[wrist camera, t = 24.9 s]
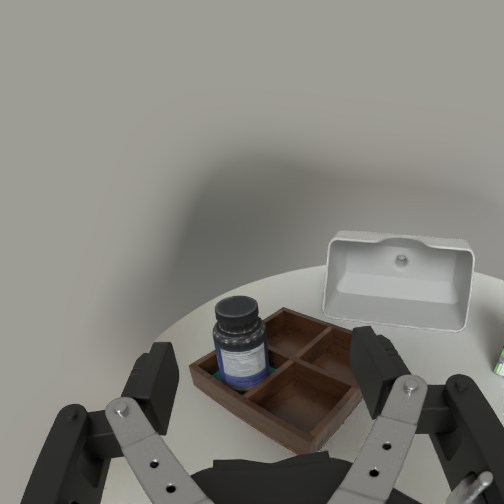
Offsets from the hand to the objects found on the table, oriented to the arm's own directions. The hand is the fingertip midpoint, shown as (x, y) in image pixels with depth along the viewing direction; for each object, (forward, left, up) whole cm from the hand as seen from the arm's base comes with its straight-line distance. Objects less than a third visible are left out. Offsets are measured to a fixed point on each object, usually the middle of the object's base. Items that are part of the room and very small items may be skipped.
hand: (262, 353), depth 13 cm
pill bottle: (+12, +15, -19) cm, 27 cm away
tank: (+42, +7, -20) cm, 47 cm away
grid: (+16, +11, -20) cm, 27 cm away
